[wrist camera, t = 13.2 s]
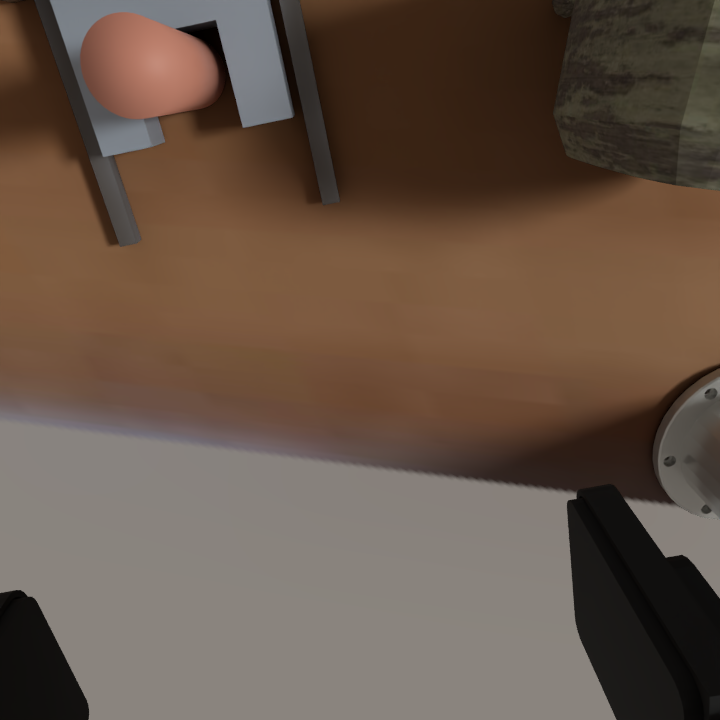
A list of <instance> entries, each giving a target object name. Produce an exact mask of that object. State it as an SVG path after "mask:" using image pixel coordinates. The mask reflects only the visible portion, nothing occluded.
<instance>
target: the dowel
mask: <svg viewBox="0 0 720 720" xmlns="http://www.w3.org/2000/svg"><path fill="white" fill-rule="evenodd" d="M80 65H81V71H82V75H83V78H84V80H85V83H86V85H87V87H88V89H89V91H90V92H91V94H92V95H93V96H94V98H95V99H96V100H97V101H98V102H99V103H100V104H101V105H102V106H103V107H105V108H106V109H107V110H109V111H110V112H112V113H114V114H116V115H118V116H121V117H124V118H128V119H145V118H151V117H157V116H163V115H169V114H174V113H180V112H186V111H192V110H197V109H203V108H206V107H208V106H210V105H212V104H213V103H214V102H215V101H216V100H217V99H218V98H219V97H220V95H221V94H222V91H223V89H224V86H225V78H226V75H225V68H224V64H223V61H222V59H221V57H220V55H219V54H218V52H217V51H216V50H215V49H214V48H213V47H212V46H211V45H210V44H209V43H207V42H206V41H204V40H202V39H199V38H197V37H194V36H192V35H189V34H187V33H184V32H182V31H179V30H177V29H174V28H171V27H169V26H166V25H164V24H161V23H159V22H156V21H154V20H151V19H149V18H146V17H144V16H141V15H138V14H135V13H129V12H118V13H112V14H109V15H106V16H104V17H102V18H101V19H99V20H98V21H96V22H95V23H94V24H93V25H92V26H91V28H90V29H89V30H88V32H87V34H86V35H85V37H84V40H83V43H82V47H81V53H80Z"/></svg>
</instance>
